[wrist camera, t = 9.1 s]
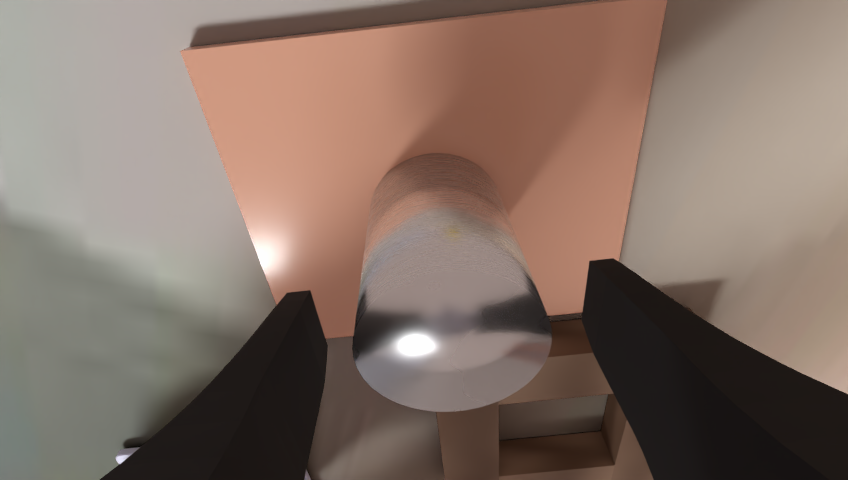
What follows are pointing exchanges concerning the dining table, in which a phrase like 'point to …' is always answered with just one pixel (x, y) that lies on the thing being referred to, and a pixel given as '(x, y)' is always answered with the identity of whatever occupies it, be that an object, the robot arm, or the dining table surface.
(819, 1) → the dining table surface
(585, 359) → the bore block
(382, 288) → the end cover
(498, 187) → the tile
